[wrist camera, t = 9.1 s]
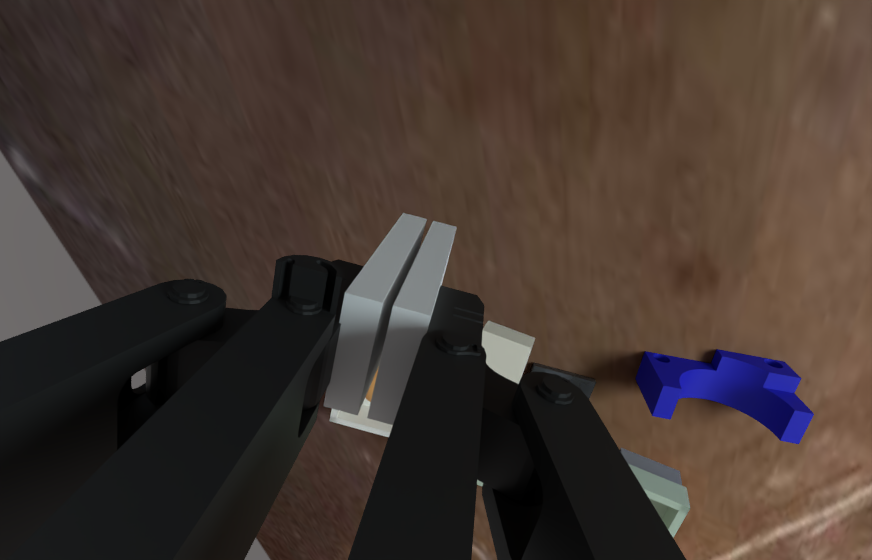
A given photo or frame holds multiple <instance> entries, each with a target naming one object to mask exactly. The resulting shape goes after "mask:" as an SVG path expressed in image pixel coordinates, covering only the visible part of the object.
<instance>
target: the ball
mask: <svg viewBox="0 0 872 560" xmlns="http://www.w3.org/2000/svg"><path fill="white" fill-rule="evenodd" d="M378 369H379V367H378ZM378 369H377V371H376V373H375V376H374V378H373V380H372V383H371V385H370V388H369V390H368V392H367V395H366V397H365V398H366V399H367V400H368V401H369V402H371V399H372V395H373V390H374V386H375V382H376V377H377V373H378Z"/></svg>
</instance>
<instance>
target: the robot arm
mask: <svg viewBox="0 0 872 560" xmlns="http://www.w3.org/2000/svg"><path fill="white" fill-rule="evenodd" d="M426 220H427V219H425V218H421V217H417V216H413V215H410V214H406V213H403V214H402V215H401V217H400V218H399V219H398V221H397V222H396V224H395V225H394V226H393V228H392V229H391V230H390V232H389V233H388V234H387V236H386V237H385V239H384V240H383V241H382V243H381V244H380V245H379V247H378V248H377V249H376V251H375V252H374V254H373V255H372V256H371V258H370V259H369V260H368V262H367V263H366V264H365V266H360V265H357V264H353V263H349V262H346V261H342V260H335V261H332V262H330V261H328V260H325V259H322V258H318V257H313V256H308V255H291V256H284V257H282V258H280V259H278V260H276V267H275V275H274V282H273V290H272V298H271V299H270V300H269V301H268V302H267V303H266V304H265V305H264V306H263V307H262V308H261V309H260V310H243V309H233V308H225V307H226V294H225V293H224V291H223V290H222V289H221V288H219V287H217V286H215V285H214V284H210V283H207V282H204V281H202V280H194V279H184V280H173V281H168V282H164V283H160V284H157V285H155V286H152V287H149V288H146V289H144V290H141V291H138V292H136V293H133V294H130V295H127V296H125V297H122V298H119V299H116V300H114V301H111V302H108V303H105V304H103V305H100V306H97V307H94V308H92V309H89V310H86V311H83V312H81V313H78V314H76V315H73V316H70V317H67V318H64V319H62V320H59V321H57V322H53V323H51V324H48V325H45V326H42V327H40V328H37V329H34V330H31V331H29V332H26V333H23V334H21V335H18V336H15V337H12V338H10V339H7V340H4V341H1V342H0V560H244V559H245V557H246V555H247V553H248V551H249V549H250V547H251V545H252V543H253V541H254V539H255V538H256V536H257V534H258V532H259V530H260V528H261V526H262V524H263V522H264V520H265V518H266V516H267V514H268V512H269V510H270V509H271V507H272V505H273V503H274V501H275V499H276V497H277V495H278V493H279V491H280V489H281V487H282V485H283V483H284V481H285V479H286V478H287V476H288V474H289V472H290V470H291V468H292V466H293V464H294V462H295V460H296V458H297V456H298V454H299V452H300V450H301V448H302V447H303V445H304V443H305V441H306V439H307V437H308V435H309V433H310V431H311V429H312V427H313V425H314V423H315V421H316V418H317V412H318V407H319V402H320V399H321V397H322V396H323V394H324V392H325V390H326V388H327V390H326V395H325V400H324V406H325V407H328V408H332V409H336V410H339V411H343V412H346V413H350V414H354V415H357V416H358V413H359V411H360V409H361V406H362V404H363V402H364V399H365V397H366V395H367V392H368V390H369V388H370V385H371V383H372V380H373V378H374V376H375V373H376V371H377V369H378V366H379V369H378V373H377V377H376V382H375V386H374V390H373V395H372V399H371V403H370V408H369V412H368V416H367V418H368V419H372V420H376V421H379V422H383V423H387V424H390V425H393V426H392V429H391V432H390V435H389V438H388V441H387V444H386V447H385V450H384V453H383V456H382V459H381V462H380V465H379V468H378V471H377V474H376V477H375V480H374V483H373V486H372V489H371V492H370V495H369V498H368V501H367V504H366V507H365V510H364V513H363V516H362V519H361V522H360V525H359V528H358V531H357V534H356V537H355V540H354V543H353V546H352V549H351V552H350V555H349V558H348V560H471V555H472V542H473V529H474V515H475V502H476V489H477V480H479V481H480V482H482V483H483V486H482V496H483V500H484V504H485V509H486V513H487V517H488V521H489V525H490V530H491V534H492V538H493V542H494V546H495V551H496V555H497V559H498V560H686V558H685V557H684V555H683V553H682V552H681V550H680V548H679V547H678V545H677V544H676V542H675V540H674V539H673V537H672V535H671V534H670V532H669V530H668V529H667V527H666V525H665V524H664V522H663V521H662V519H661V517H660V516H659V514H658V512H657V511H656V509H655V507H654V506H653V504H652V502H651V501H650V499H649V498H648V496H647V494H646V493H645V491H644V489H643V488H642V486H641V484H640V483H639V481H638V479H637V478H636V476H635V475H634V473H633V471H632V470H631V468H630V466H629V465H628V463H627V461H626V460H625V458H624V456H623V455H622V453H621V451H620V450H619V448H618V447H617V445H616V443H615V442H614V440H613V438H612V437H611V435H610V433H609V432H608V430H607V428H606V427H605V425H604V424H603V422H602V420H601V419H600V417H599V415H598V414H597V412H596V410H595V409H594V407H593V405H592V404H591V402H590V401H589V399H588V397H587V396H586V395H585V394H584V393H583V391H582V390H581V389H580V388H579V387H577V386H576V385H574V384H573V383H571V382H570V381H569V380H568V379H566V378H564V377H563V378H562V377H561V376H559V375H556V374H550V373H546V372H530V373H527V374H524V376H523V377H522V378H521V379H520V382H519V384H518V383H515V382H513V381H511V380H509V379H507V378H505V377H503V376H501V375H500V374H498V373H496V372H495V371H494V370H492V369H491V368H490V367H489V366H488V365H487V364H486V356H487V355H486V352H485V349H484V348H483V347H482V332H483V317H484V316H483V315H484V304H483V303H482V301H481V300H480V299H479V297H478V296H477V295H474V294H470V293H467V292H463V291H459V290H455V289H452V288H448V287H444V286H441V285H442V281H443V277H444V274H445V270H446V266H447V262H448V258H449V255H450V251H451V247H452V243H453V240H454V236H455V232H456V228H457V227H455V226H451V225H447V224H443V223H440V222H436V221H433V223H432V225H431V227H430V229H429V231H428V233H427V235H426V237H425V239H424V241H423V244H422V246H421V248H420V245H421V241H422V237H423V233H424V229H425V225H426ZM419 249H420V250H419ZM144 368H146V383H145V384H143V385H142V386H140V387H138V388H136V389H132V387H131V376H133V375H134V374H135V373H136V372H138V371H140V370H142V369H144Z"/></svg>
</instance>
